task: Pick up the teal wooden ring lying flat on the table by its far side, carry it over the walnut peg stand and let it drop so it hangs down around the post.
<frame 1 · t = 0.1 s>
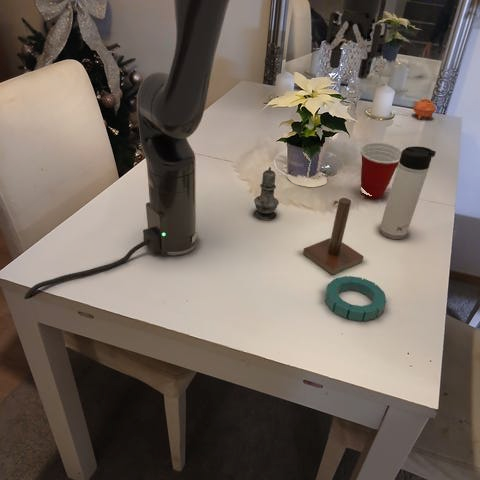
hand: (348, 72, 105), 29 cm above the table, tool pointing down, fingers open, 8 cm apart
ring: (353, 301, 91), on the table
post: (332, 258, 102), on the table
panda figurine: (307, 178, 131), on the table
plastic cup: (370, 195, 126), on the table
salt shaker: (265, 215, 115), on the table
travel mug: (393, 233, 112), on the table
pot: (421, 118, 175), on the table
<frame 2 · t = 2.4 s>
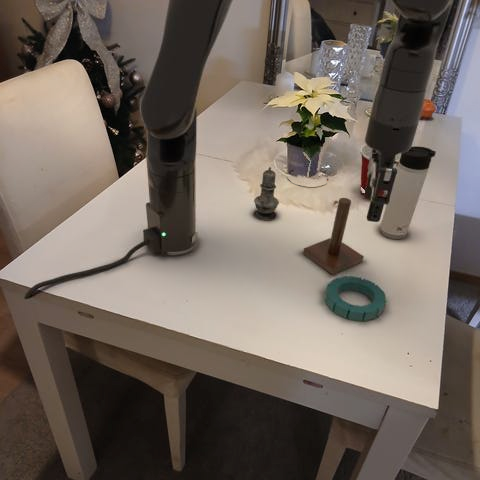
hand: (371, 208, 86), 16 cm above the table, tool pointing down, fingers open, 8 cm apart
nothing on the table moved.
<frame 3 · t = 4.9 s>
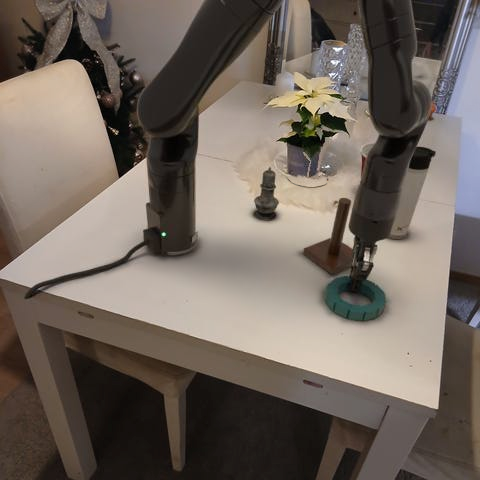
hand: (353, 286, 94), 0 cm above the table, tool pointing down, fingers closed on ring, 2 cm apart
ring: (353, 301, 91), on the table, touching gripper
everything else where it was.
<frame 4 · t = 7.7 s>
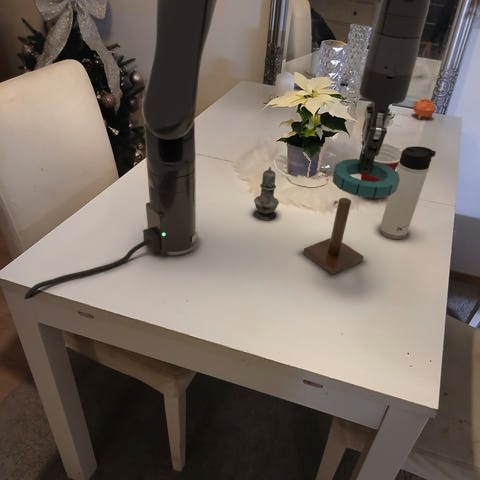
hand: (363, 170, 87), 21 cm above the table, tool pointing down, fingers closed on ring
ring: (364, 183, 83), point 20 cm above the table, touching gripper
everything else where it was.
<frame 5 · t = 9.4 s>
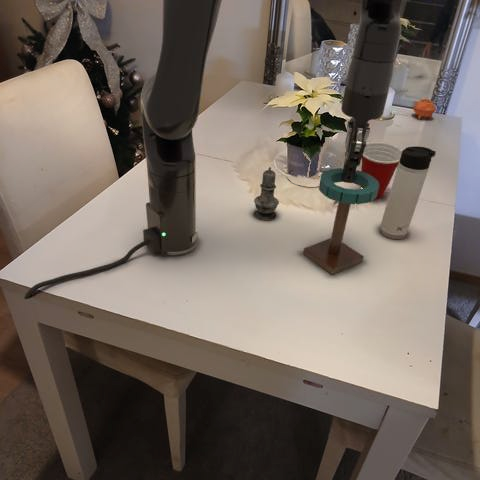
hand: (347, 178, 95), 16 cm above the table, tool pointing down, fingers closed on ring
ring: (347, 190, 92), point 16 cm above the table, touching gripper
everything else where it was.
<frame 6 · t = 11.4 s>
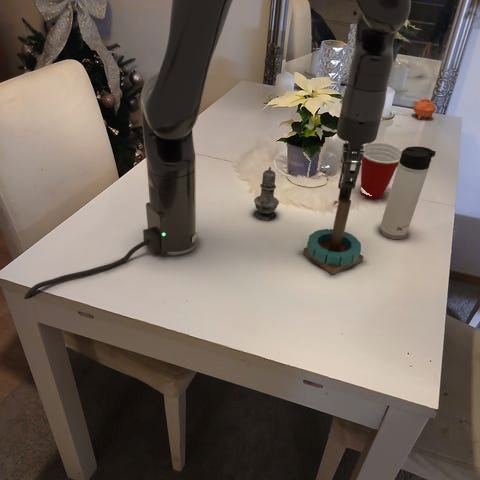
hand: (343, 195, 99), 12 cm above the table, tool pointing down, fingers open, 5 cm apart
ring: (332, 250, 102), point 1 cm above the table, touching post
everything else where it was.
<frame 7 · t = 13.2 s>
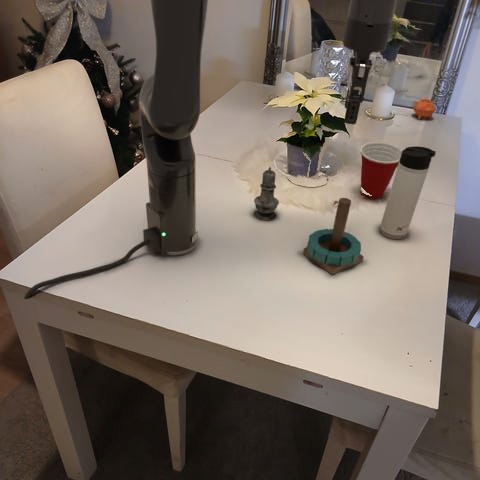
hand: (349, 115, 91), 27 cm above the table, tool pointing down, fingers open, 8 cm apart
nothing on the table moved.
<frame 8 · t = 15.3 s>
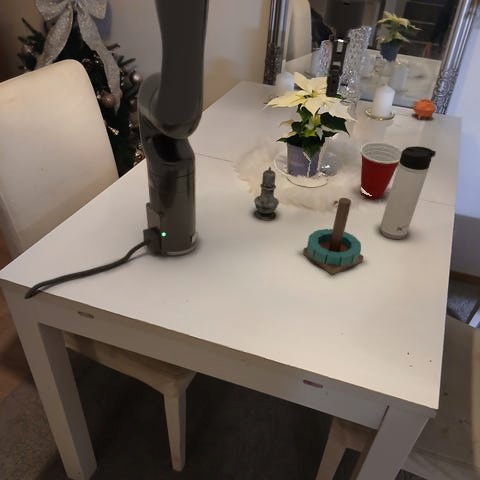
hand: (330, 90, 98), 28 cm above the table, tool pointing down, fingers open, 8 cm apart
nothing on the table moved.
at the end: ring 0.6 cm from the post (horizontally); ring point 1.5 cm above the table; the gripper is holding nothing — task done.
